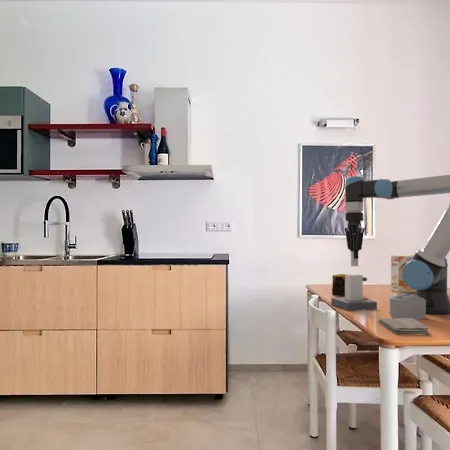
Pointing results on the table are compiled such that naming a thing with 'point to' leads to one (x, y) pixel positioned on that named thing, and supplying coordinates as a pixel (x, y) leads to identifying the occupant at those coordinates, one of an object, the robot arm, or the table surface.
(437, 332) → the table surface
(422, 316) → the lumpy-topped squat cylinder
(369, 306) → the socket
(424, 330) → the washcloth
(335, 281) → the candle
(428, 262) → the robot arm
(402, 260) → the coffeecake box
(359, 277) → the plug
